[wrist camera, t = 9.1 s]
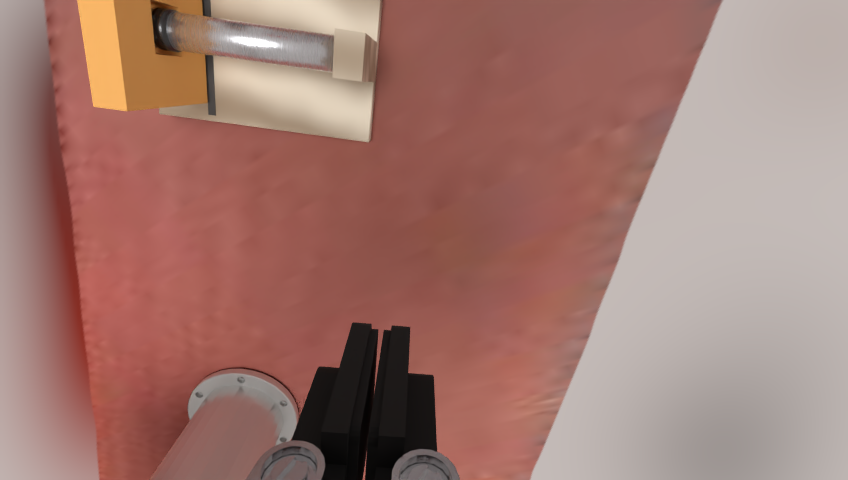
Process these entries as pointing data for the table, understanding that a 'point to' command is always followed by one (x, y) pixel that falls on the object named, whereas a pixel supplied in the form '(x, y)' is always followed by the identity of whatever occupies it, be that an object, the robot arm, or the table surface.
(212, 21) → the pipe
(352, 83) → the pipe stand
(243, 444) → the robot arm
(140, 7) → the collar
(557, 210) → the table surface
